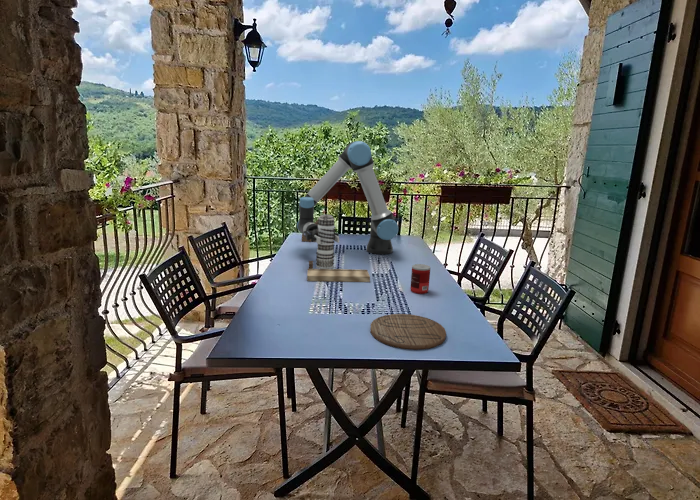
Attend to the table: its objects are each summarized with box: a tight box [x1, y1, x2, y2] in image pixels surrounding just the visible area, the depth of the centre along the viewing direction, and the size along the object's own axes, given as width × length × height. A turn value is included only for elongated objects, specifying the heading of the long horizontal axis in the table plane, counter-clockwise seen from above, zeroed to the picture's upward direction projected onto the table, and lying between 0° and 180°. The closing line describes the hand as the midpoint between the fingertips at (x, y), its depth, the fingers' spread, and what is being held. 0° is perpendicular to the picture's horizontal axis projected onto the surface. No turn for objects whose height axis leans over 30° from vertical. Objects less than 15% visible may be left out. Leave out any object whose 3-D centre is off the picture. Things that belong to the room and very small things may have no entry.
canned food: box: [409, 263, 431, 295], centre depth 186 cm, size 8×8×11 cm
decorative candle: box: [315, 214, 337, 269], centre depth 208 cm, size 9×9×25 cm
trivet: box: [369, 313, 447, 351], centre depth 146 cm, size 25×25×2 cm
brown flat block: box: [308, 260, 314, 269], centre depth 210 cm, size 2×6×4 cm, turn 5°
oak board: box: [306, 268, 371, 283], centre depth 201 cm, size 28×11×3 cm, turn 95°
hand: (329, 240), depth 203 cm, fingers closed on decorative candle, 9 cm apart
